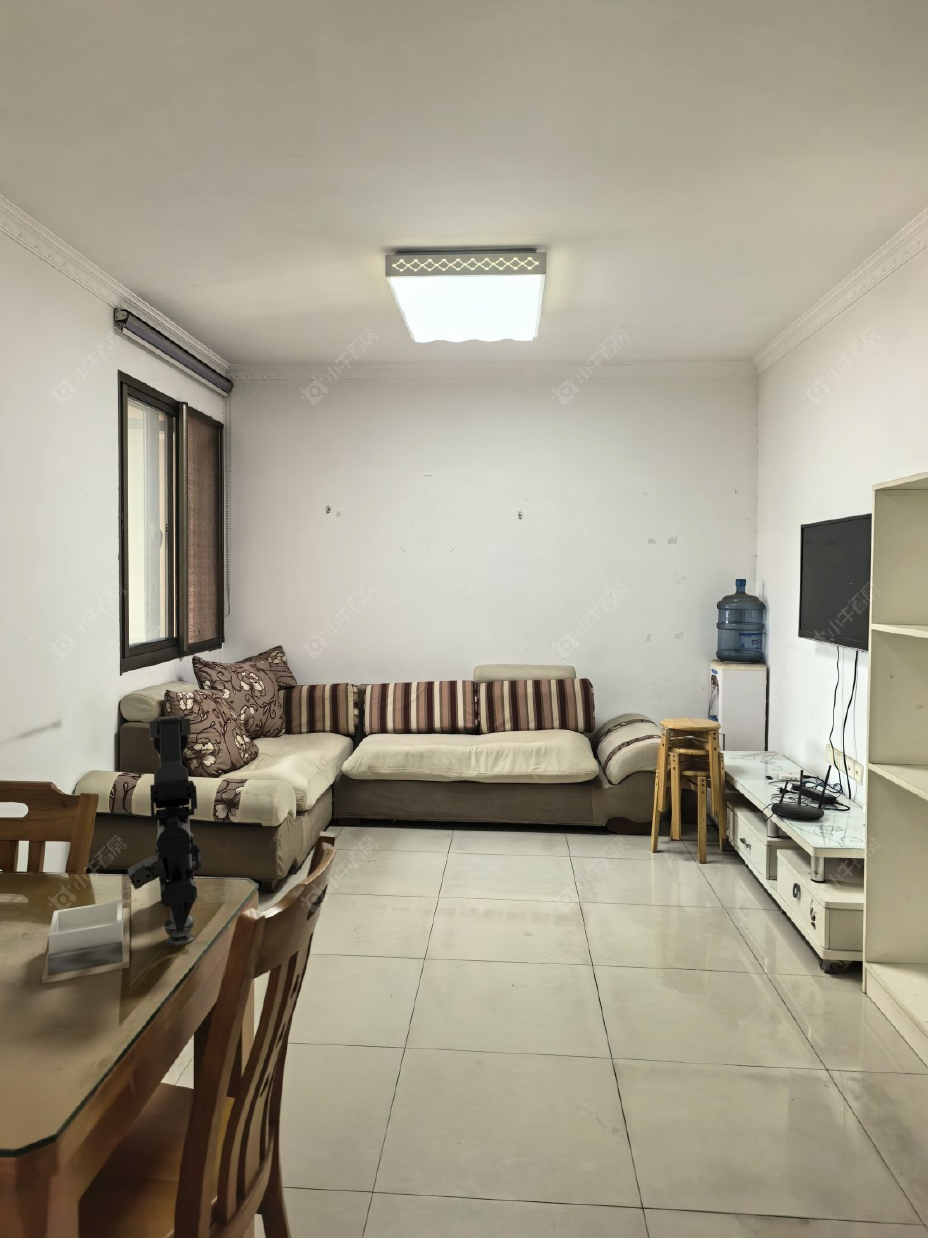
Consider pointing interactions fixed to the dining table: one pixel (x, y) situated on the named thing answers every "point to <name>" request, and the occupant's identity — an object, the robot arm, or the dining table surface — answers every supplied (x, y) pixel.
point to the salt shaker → (178, 936)
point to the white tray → (86, 926)
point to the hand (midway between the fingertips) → (178, 922)
